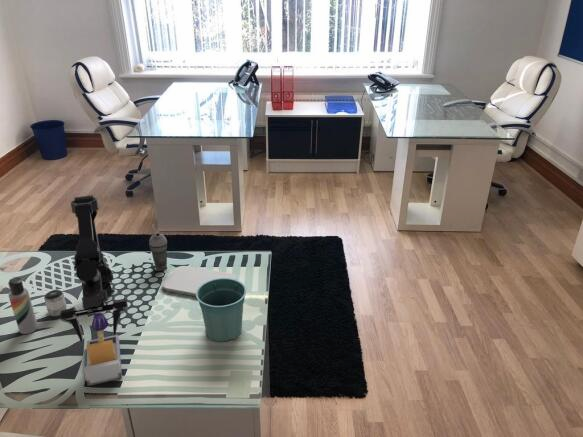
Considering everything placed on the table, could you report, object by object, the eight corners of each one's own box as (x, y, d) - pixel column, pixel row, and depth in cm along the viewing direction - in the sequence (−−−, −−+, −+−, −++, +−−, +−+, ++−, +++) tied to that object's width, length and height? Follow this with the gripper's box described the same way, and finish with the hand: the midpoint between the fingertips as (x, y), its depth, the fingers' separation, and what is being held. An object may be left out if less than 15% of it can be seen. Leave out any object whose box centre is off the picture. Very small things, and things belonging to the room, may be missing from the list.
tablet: (223, 303, 177) (222, 298, 176) (159, 291, 183) (159, 286, 182) (238, 279, 191) (238, 274, 190) (179, 269, 197) (178, 264, 196)
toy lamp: (110, 350, 152) (104, 308, 145) (113, 360, 149) (108, 317, 141) (94, 355, 150) (87, 313, 142) (97, 365, 146) (91, 322, 139)
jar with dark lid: (68, 313, 170) (64, 295, 166) (49, 319, 167) (44, 300, 164) (65, 304, 175) (61, 286, 171) (47, 309, 172) (42, 291, 168)
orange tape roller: (88, 346, 155) (84, 331, 152) (119, 339, 158) (116, 325, 155) (87, 386, 140) (83, 371, 137) (121, 378, 143) (119, 363, 140)
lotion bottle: (23, 323, 165) (9, 275, 155) (40, 323, 165) (27, 274, 156) (16, 334, 159) (1, 285, 150) (34, 334, 160) (19, 284, 151)
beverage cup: (165, 273, 194) (160, 229, 185) (149, 271, 195) (142, 227, 186) (173, 263, 200) (168, 221, 191) (157, 261, 201) (151, 219, 192)
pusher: (91, 365, 146) (86, 345, 143) (116, 359, 149) (112, 339, 145) (91, 367, 145) (86, 347, 142) (116, 362, 148) (112, 342, 144)
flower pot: (190, 326, 165) (187, 288, 157) (231, 309, 174) (230, 272, 166) (214, 353, 153) (211, 313, 146) (257, 333, 162) (256, 294, 155)
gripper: (53, 288, 137) (59, 343, 132) (122, 276, 143) (129, 328, 138) (61, 295, 147) (66, 346, 143) (124, 284, 153) (131, 333, 148)
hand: (98, 338), depth 143 cm, fingers open, 9 cm apart
